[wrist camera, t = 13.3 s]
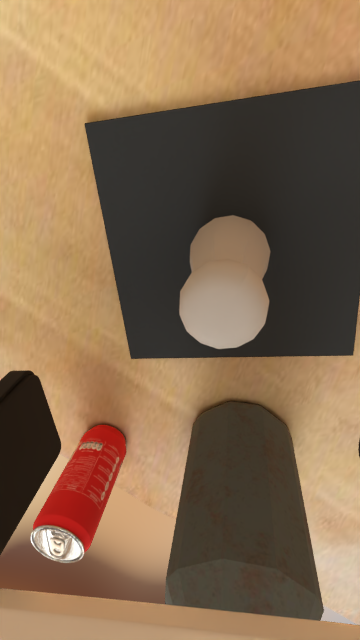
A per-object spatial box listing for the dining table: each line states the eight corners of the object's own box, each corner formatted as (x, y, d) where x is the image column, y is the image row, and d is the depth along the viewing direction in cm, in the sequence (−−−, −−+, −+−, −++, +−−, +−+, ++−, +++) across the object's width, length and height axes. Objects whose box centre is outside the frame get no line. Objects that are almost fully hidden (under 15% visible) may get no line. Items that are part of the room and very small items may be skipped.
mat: (132, 355, 34) (131, 358, 33) (87, 124, 25) (84, 123, 25) (351, 352, 30) (353, 355, 29) (380, 78, 22) (384, 76, 21)
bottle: (221, 480, 39) (181, 1190, 12) (173, 420, 36) (-13, 1161, 9) (307, 452, 35) (521, 1381, 8) (261, 383, 33) (362, 1423, 6)
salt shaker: (276, 270, 27) (303, 353, 16) (209, 292, 29) (188, 382, 17) (253, 198, 25) (265, 231, 14) (182, 227, 27) (139, 278, 15)
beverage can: (131, 428, 38) (89, 535, 27) (126, 460, 40) (84, 571, 29) (87, 416, 38) (27, 517, 27) (84, 449, 40) (27, 554, 30)
